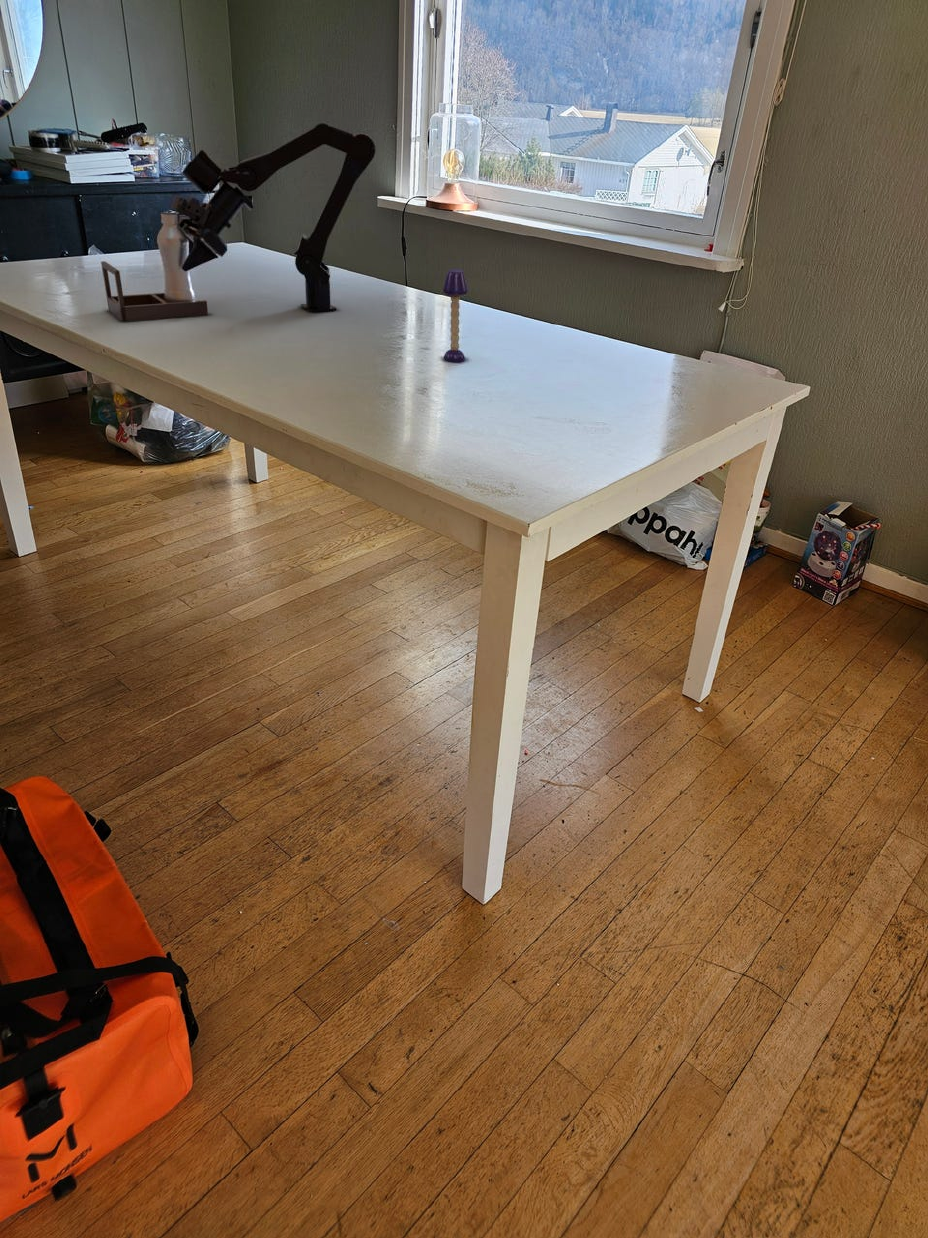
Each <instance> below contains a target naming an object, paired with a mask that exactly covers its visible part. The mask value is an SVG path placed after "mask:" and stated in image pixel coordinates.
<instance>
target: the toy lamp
mask: <svg viewBox="0 0 928 1238" xmlns="http://www.w3.org/2000/svg"><path fill="white" fill-rule="evenodd" d="M442 291H443V292H442V293H443V294H445V295H448V296H450V300H451V302H450V309H451V310H450V321H449V323H450V328H449V329H450V338H449V339H450V346H449V347H450V349H448V350H447V351H446V352H445V353H444V355H443V360H444V361H446V362H450V363H461V362H464V361H465V360H466V357H465V354H464V353H463V351H462V350H460V343H459V341H460V335H459V333H460V327H459V326H460V308H461V307H460V305H461V304H460V300H461V296H464V295H467V294H468V286H467V281H466V278H465V273H464V271H463V270H461V269H449V270H448V271H447V274H446V276H445V281H444V285H443V289H442Z"/></svg>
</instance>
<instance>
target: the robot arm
mask: <svg viewBox="0 0 928 1238" xmlns="http://www.w3.org/2000/svg"><path fill="white" fill-rule="evenodd" d="M324 145H325V146H328V147H331V148H333V149H335V150H337V151H340V152H343V153H344V156H343V159H342V165H341V168H340V172H339V174H338V176H337V178H336V180H335V183H334V185H333V187H332V189H331V191H330V193H329V194H328V197H327V199H326V202H325V203H324V207H323V208H322V210H321V212H320V214H319V216H318V219H317V221H316V223H315V225H314V227H313V229H312V230H311V232H310V233H309V234H308V235H306V234H305V233H301V236H300V239H299V240H300V241H299V243H298V245H297V246H296V247H294V253H293V254H294V255H295V259H294V265H295V268H296V270H297V271H298V273H299V274H301V275H302V276H303V277H304V279H305V280H304V284H305V285H304V287H305V303H300V307H301V308H303V309H305V310H307V311H309V312H310V313H311V312H312V313H318V312H326V311H327V312H330V311H337V307H336V306H333V305H331V281H330V279H331V269H330V267H328V266H327V264H326V263H324V261H323V260H324V256H325V252H326V248H327V245H328V240H329V238H330V236H331V234H332V232H333V230H334V228H335V227H336V226H335V225H336V223H337V222H338V219H339V217H340V215H341V213H342V211H343V209H344V206H345V205H346V202H347V200H348V198H349V196H350V194H351V192H352V190H353V188H354V185H355V184H356V182H357V181H358V179H359V178H360V177H361V175H362V174H363V173H364V172H365V171H366V169H367V168H368V167H369V165H370V164H371V162H372V161H373V159H374V158H375V155H376V145H375V142H374V141H373V139H372V137H370V135H368V134H367V133H366V132H365V133H364V132H355V133H350V132H348V131H345V130H344V129H343V130H342V129H340V128H337V127H334V126H332V125H330V124H329V123H327V122H324V121H322V122H318V123H317V124H316V125H314V126H313V127H312V128H310V129H308V130H306V131H304V132H303V133H301V134H300V135H298V136H295V137H294V138H292V139H291V140H289V141H287V142H285V143H283V144H281V145H280V146H278V147H277V148H275V149H273V150H271V151H269V152H266V153H265V152H264V153H262V154H258V155H256V156H252V157H249V158H246V159H243V160H241V161H240V162H239V163H238V164H237V165H236V166H232V167H228V166H226V167H224V168H221V166H219V164H218V163H217V162H215V161H214V159H212V158H211V157H210V155H209V153H207V151H205V150H204V149H201V150H199V152H198V153H197V154H196V156H195V157H194V158H193V159H192V160H190V161H189V162H188V164H187V165H186V166H185V167H184V169H183V171H182V172H181V174H182V175H183V177H185V178H186V180H188V181H189V183H191V184H192V185H193V186H194V187H195V188H196V189H198V190H199V192H200V193H202V194H205V193H208V194H209V195H211V194H212V193H213V192H214V190H215V189H216V188H217V186H218V185H219V184H221V186H220V187H219V188H218V189H217V191H215V193H214V194H213V196H212V197H211V198H210V200H209V201H208V202H202V203H200V200H199V199H197V198H195V197H193V196H189V197H188V198H183V197H182V196H179V195H178V194H174V197H173V200H172V204H171V207H170V210H171V211H173V212H174V213H178V214H179V215H182V216H179V217H180V224H179V226H180V227H181V229H182V230H183V231H184V233H185V234H186V236H187V238H188V240H189V255H188V257H187V258H186V260H185V262H184V264H183V266H182V269H183V270H184V271H185V272H186V271H188V270H189V271H190V270H192V269H195V268H197V267H199V266H202V265H204V264H205V263H208V262H210V261H213V260H215V259H219V257H221V258H223V257H224V256H225V254H226V253H227V252H228V244H227V243H226V242H225V241H224V239H223V238H221V236H220V235H221V234H222V233H223V232H224V230H226V229H229V230H230V228H231V227H232V224H231V222H232V220H233V219H234V218H235V217H236V215H237V214H238V213H239V211H240V210H241V209H242V208H243V206H244V207H245V208H246V209H247V210H248V211H252V210H253V209H254V203H253V197H254V196H253V195H246V194H245V193H244V192H243V191H246V192H254V191H255V190H257V189H258V188H260V187H261V186H262V185H263V184H264V183H265V182H266V181H267V180H269V179H270V178H271V177H272V176H273V175H274V174H275V173H277V172H278V171H279V170H281V169H282V168H284V167H287V165H289V164H291V163H294V162H295V161H296V160H298V159H300V158H303V157H304V156H306V155H307V154H309V153H311V152H313V151H314V150H316V149H318V148H320V147H321V146H324ZM231 184H234V185H237V186H234V187H233V186H232V185H231ZM183 215H184V216H183Z"/></svg>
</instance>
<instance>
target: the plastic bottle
mask: <svg viewBox="0 0 928 1238" xmlns="http://www.w3.org/2000/svg"><path fill="white" fill-rule="evenodd" d="M160 217H161V219H160V222H161V224H162V227H161V228H160V229H159V232H158V234H157V238H156V242H157V245H158V250H159V254H160V259H161V262H162V267H163V274H164V292H163V293H164V295H165V302H167V303H176V302H190V301H197V298H196V294H195V290H194V288H193V284H192V278H191V274H190V270H188V271H186V272H185V271H184V270H183V269H182V266H183V264H184V262H185V260H186V258H187V257H188V255H189V240H188V238H187V236H186V234H185V233H184V231H183V230H182V229H181V227H180V226H179V224H180V217H181V216H180V213H178V212H161V213H160Z"/></svg>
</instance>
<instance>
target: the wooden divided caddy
mask: <svg viewBox="0 0 928 1238" xmlns="http://www.w3.org/2000/svg"><path fill="white" fill-rule="evenodd" d="M100 264H101V265H100V266H101V270H102V278H103V283H104V289H105V296H106V302H107V309H108V312H110V313H111V314H112V315H114V317H116V318H117V319H119V320H120V321H121V322H122V323H127V322H138V321H152V320H153V321H154V320H165V319H175V318H176V319H177V318H186V317H187V318H188V317H189V318H191V317H200V316H201V317H202V316H209V310H208V301H207V300H196V301H190V302H176V303H167V302H165V295H164V293H165V292H156V293H155V292H154V293H153V292H152V293H141V294H140V293H139V294H125V295H124V294H123V293H124V292H123V285H122V280H121V273H120V270H119V269H118V268H116V267H114V266H113V265H111V264H110V263H108V262H107V261H105V260H104V261H100ZM109 273H110V274H112V275H113V276H114V279H115V287H116V293H117V294H116V295H112V291H111V284H110V278H109Z"/></svg>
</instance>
